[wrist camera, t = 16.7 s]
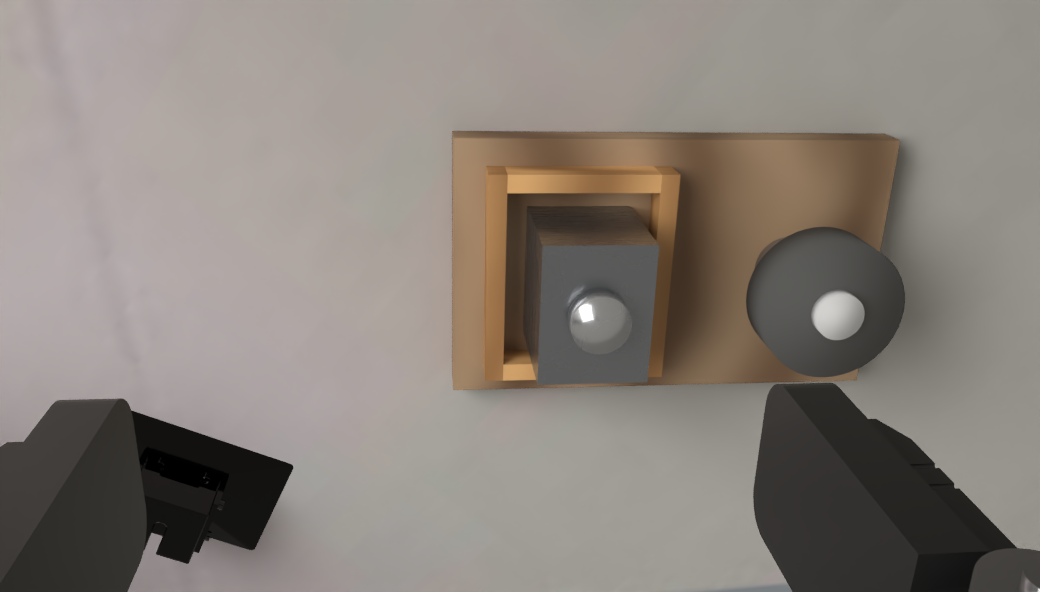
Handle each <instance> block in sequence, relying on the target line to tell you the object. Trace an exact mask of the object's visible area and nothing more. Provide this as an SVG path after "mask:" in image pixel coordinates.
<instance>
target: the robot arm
mask: <svg viewBox="0 0 1040 592" xmlns="http://www.w3.org/2000/svg"><path fill="white" fill-rule="evenodd" d="M753 498H754V511H755V518H756V522H757V526H758V529H759V532H760V535H761V537H762V539H763V540H764V542H765V544H766V546H767V547H768V549H769V551H770V553H771V554H772V556H773V558H774V560H775V561H776V563H777V565H778V567H779V569H780V570H781V572H782V574H783V576H784V577H785V579H786V581H787V583H788V584H789V586H790V588H791V590H792V591H793V592H1040V551H1036V550H1031V549H1020V548H1017V547H1016V546H1015V545H1014V544H1013V543H1012V542H1011V541H1010V540H1009V539H1008V538H1007V537H1006V536H1005V535H1004V534H1003V533H1002V532H1001V531H1000V530H999V529H998V528H997V527H996V526H995V525H994V524H993V523H992V522H991V521H990V520H989V519H988V518H987V517H986V516H985V515H984V514H983V513H982V512H981V510H980V509H979V508H978V507H977V506H976V505H975V504H974V503H973V502H972V501H971V500H970V499H969V498H968V497H967V496H966V495H965V494H964V493H963V492H962V491H961V490H960V489H955V488H954V483H953V482H952V481H951V480H950V479H949V478H948V477H947V476H946V474H945V473H944V472H943V471H942V470H941V469H940V468H935V463H934V462H933V461H932V460H931V459H930V458H929V457H928V456H927V455H926V454H925V453H924V452H923V451H922V450H921V449H920V448H919V447H918V446H917V445H916V444H915V443H914V442H913V441H912V440H911V439H910V438H908V437H906V436H905V435H903V434H901V433H899V432H898V431H896V430H894V429H892V428H891V427H889V426H887V425H885V424H884V423H882V422H880V421H878V420H877V419H867V417H866V416H865V415H864V414H863V413H862V412H861V411H860V410H859V409H858V408H857V407H856V406H855V405H854V403H853V402H852V401H851V400H850V399H849V398H848V397H847V396H846V395H845V394H844V393H843V392H842V390H841V389H840V388H839V387H838V386H837V385H835V384H833V383H807V384H776V385H774V386H773V387H772V388H771V390H770V392H769V394H768V397H767V401H766V406H765V413H764V420H763V427H762V434H761V441H760V448H759V455H758V462H757V469H756V476H755V483H754V496H753ZM146 528H147V515H146V504H145V498H144V491H143V484H142V477H141V470H140V463H139V457H138V450H137V443H136V436H135V429H134V422H133V417H132V412H131V409H130V406H129V404H128V403H127V401H126V400H124V399H90V400H59V401H56V402H55V403H54V404H53V405H52V406H51V407H50V408H49V410H48V411H47V412H46V414H45V415H44V416H43V418H42V419H41V420H40V421H39V423H38V424H37V425H36V427H35V428H34V429H33V431H32V432H31V433H30V434H29V436H28V437H27V438H26V440H25V441H24V442H7V443H6V444H4V445H3V446H1V447H0V592H127V591H128V589H129V587H130V584H131V582H132V580H133V577H134V575H135V573H136V571H137V568H138V566H139V564H140V561H141V558H142V555H143V551H144V546H145V540H146Z"/></svg>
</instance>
